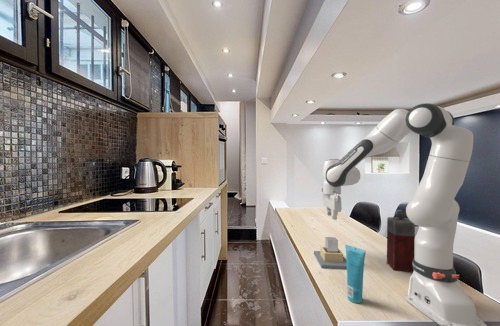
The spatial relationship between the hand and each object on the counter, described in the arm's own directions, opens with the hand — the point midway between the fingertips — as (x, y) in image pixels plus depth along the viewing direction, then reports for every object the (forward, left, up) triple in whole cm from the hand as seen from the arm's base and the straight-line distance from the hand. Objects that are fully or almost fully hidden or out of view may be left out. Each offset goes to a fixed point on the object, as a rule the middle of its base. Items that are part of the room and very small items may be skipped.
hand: (331, 217), depth 119 cm
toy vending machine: (-3, -32, -23) cm, 39 cm away
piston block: (0, 0, -21) cm, 21 cm away
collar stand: (0, 0, -23) cm, 23 cm away
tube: (-34, +1, -23) cm, 41 cm away
